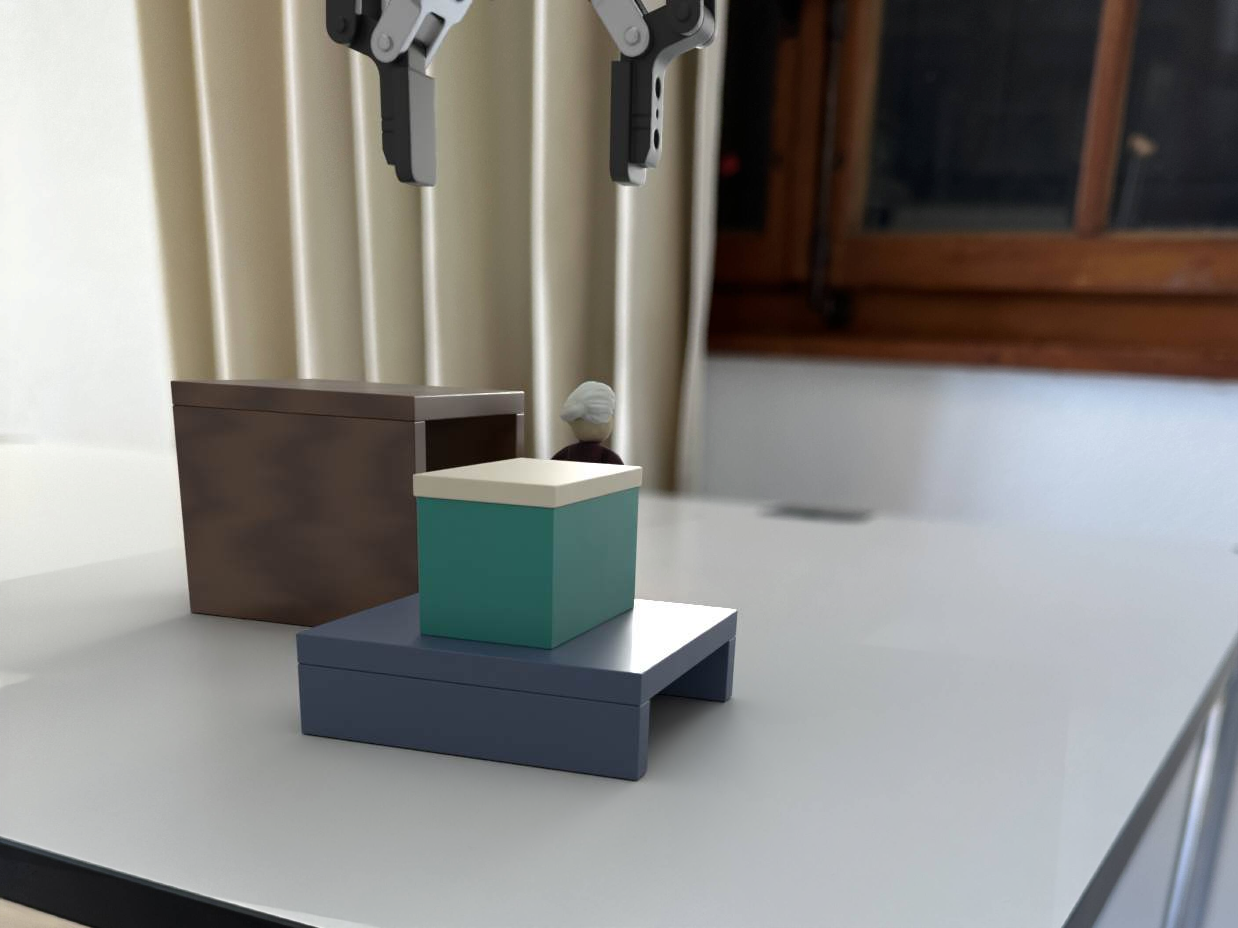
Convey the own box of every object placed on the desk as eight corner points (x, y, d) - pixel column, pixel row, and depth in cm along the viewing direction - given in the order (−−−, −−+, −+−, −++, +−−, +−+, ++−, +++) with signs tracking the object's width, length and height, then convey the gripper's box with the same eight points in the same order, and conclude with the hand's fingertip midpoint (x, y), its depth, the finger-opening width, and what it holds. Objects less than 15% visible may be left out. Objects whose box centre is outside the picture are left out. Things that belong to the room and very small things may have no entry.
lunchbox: (415, 635, 51) (412, 474, 49) (519, 594, 60) (519, 457, 58) (552, 650, 49) (555, 485, 47) (637, 607, 58) (643, 466, 56)
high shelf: (190, 612, 72) (169, 380, 68) (323, 576, 85) (313, 378, 80) (419, 639, 69) (413, 396, 64) (523, 597, 81) (525, 391, 77)
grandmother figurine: (653, 597, 83) (662, 384, 79) (626, 606, 80) (634, 385, 75) (547, 583, 86) (550, 377, 81) (517, 592, 83) (518, 377, 78)
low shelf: (301, 733, 52) (295, 632, 50) (455, 662, 64) (454, 580, 63) (637, 781, 48) (641, 673, 47) (732, 696, 61) (738, 609, 59)
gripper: (754, -338, 45) (728, 197, 51) (378, -299, 48) (395, 195, 54) (694, -462, 38) (672, 172, 44) (263, -406, 42) (297, 171, 48)
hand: (519, 184), depth 49 cm, fingers open, 8 cm apart
